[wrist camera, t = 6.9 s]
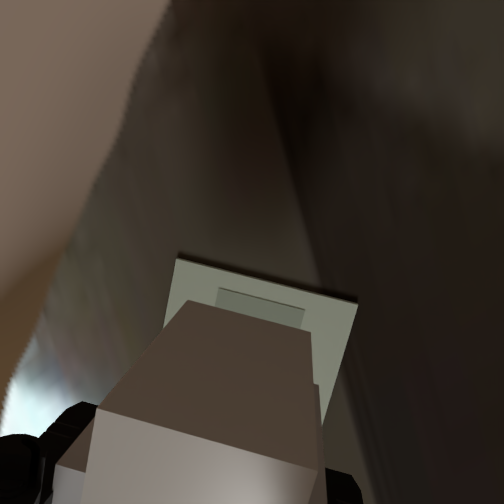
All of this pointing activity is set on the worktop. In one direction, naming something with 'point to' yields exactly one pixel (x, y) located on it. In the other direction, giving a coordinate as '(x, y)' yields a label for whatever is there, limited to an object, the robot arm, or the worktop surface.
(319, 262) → the worktop surface
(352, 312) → the board
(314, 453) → the plug housing
